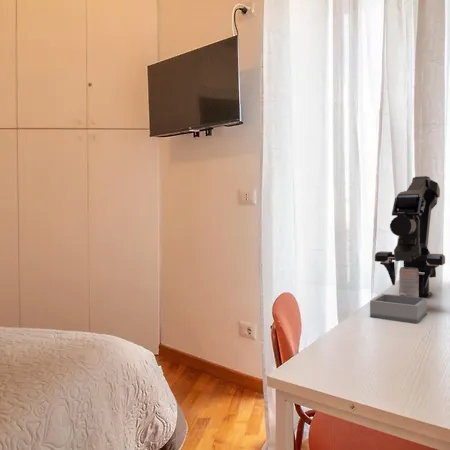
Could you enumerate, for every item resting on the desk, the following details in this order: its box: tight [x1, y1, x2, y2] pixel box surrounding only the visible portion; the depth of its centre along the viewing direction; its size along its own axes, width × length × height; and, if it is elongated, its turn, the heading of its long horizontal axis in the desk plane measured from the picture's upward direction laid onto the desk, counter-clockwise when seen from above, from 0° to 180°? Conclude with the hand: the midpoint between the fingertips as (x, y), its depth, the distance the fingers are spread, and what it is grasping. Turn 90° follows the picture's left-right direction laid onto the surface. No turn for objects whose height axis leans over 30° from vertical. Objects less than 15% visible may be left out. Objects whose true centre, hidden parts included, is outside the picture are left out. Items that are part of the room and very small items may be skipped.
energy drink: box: [398, 266, 420, 298], centre depth 123 cm, size 5×5×12 cm
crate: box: [369, 293, 428, 324], centre depth 113 cm, size 12×12×4 cm
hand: (408, 286), depth 123 cm, fingers open, 8 cm apart
